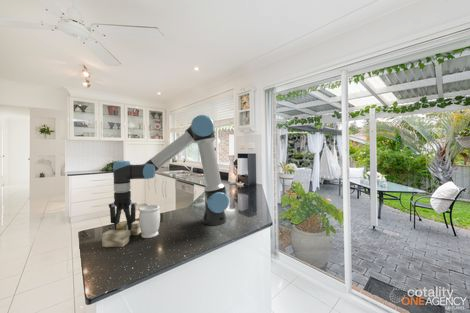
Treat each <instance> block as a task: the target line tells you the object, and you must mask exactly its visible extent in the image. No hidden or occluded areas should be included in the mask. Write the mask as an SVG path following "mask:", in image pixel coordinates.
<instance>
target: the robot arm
mask: <svg viewBox="0 0 470 313" xmlns="http://www.w3.org/2000/svg"><path fill="white" fill-rule="evenodd" d="M190 124H191V125H190V126H188V128H187V129H185V131H184V133H183V134H181V135H180V136H179V137H178V138H176V139H175V140H174V141H172V142H171V143H170V144H169V145H167V146H166V147H165V148H163V149H162V150H160V151H159V152H158V153H157V154H155V155H154V156H153V157H151V158H150V159H148V160H146V162H145V163H142V164H131V161H130V160H119V161H118V160H116V161H114V162H113V168H112V169H113V170H112V171H113V172H112V174H113V176H112V177H113V199H114V200H113V202H112V203H111V202H110V203H109V204H108V208H109V216H110V223H111V224H114V230H116V225H118V224H120V223H121V221H120V220H121V216H122V215H121V214H122V210H123V212H124V215H125V216H124V217H125V219H126V220H125V221H127V224H126V230H129V236H130V237H131V235H130V230H131V229H132V223H133V222H135V221H136V212H137V211H136V209H137V202H132V200H131V198H132V195H131V194H132V193H131V180H143V179H144V180H145V179H146V180H149V179H155V176H156V172H157V171H159V169H161V168H162V167H164V166H165V165H167V163H169V162H170V161H172V160H173V159H174V158H175V157H177V156H178V155H179V154H181V152H183V151H184V150H185V149H187V148H188V147H189V146H191V145H192V144H197V147H198V151H199V156H200V161H201V165H202V166H201V167H202V171H203V176H204V180H205V186H204V212H203V215H202V220H201V221H202V224H204V225H206V226H207V225H208V226H219V225H223V224H225V223H226V222H227V215H226V212H225V211H226V210H227V209H228V207H229V206H230V205H229V204H230V199H229V196H228V195H227V190H226V186H225V184H223V182H222V180H221V174H220V169H219V164H218V159H217V154H216V149H215V144H214V141H215V139H216V137H215V136H216V135H215V124H214V121H213V120H212V118H211V117H209V115H205V114H199V115H196V116H195V117H193V119H192V120H191V123H190Z"/></svg>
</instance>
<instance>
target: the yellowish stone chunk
mask: <svg viewBox="0 0 470 313" xmlns="http://www.w3.org/2000/svg"><path fill="white" fill-rule="evenodd" d="M119 223H120V224H118V225H116V230H126V224H127V220H123V221H120V222H119ZM130 237H131V235H130V236H129V238H130Z"/></svg>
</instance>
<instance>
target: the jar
mask: <svg viewBox="0 0 470 313" xmlns="http://www.w3.org/2000/svg"><path fill="white" fill-rule="evenodd" d="M160 208H161V206H160V205H158V204H148V205H142V206H140V207H139V208H138V211H139V215H138V221H139V224H140V229H141V232H140V233H141V238H144V239H149V238H154V237H157V236H158V235H159V228H160V224H161V222H160V221H161V213H160Z"/></svg>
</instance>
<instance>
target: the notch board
mask: <svg viewBox="0 0 470 313" xmlns="http://www.w3.org/2000/svg"><path fill="white" fill-rule="evenodd" d="M140 233H142V232H141V229H140V224H139V220H135V222H133V223H132V229H131V230H130V236H138V235H139V234H140ZM101 241H102V242H101V244H102V245H101V246H102V247H104V248H106V247H107V248H108V247H110V248H111V247H113V248H114V247H115V248H117V247H122V248H123V247H125V245H127V244H128V243H129V242H130V237H129V230H115V229H108V230H106V231H104V232H103V233H101Z"/></svg>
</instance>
